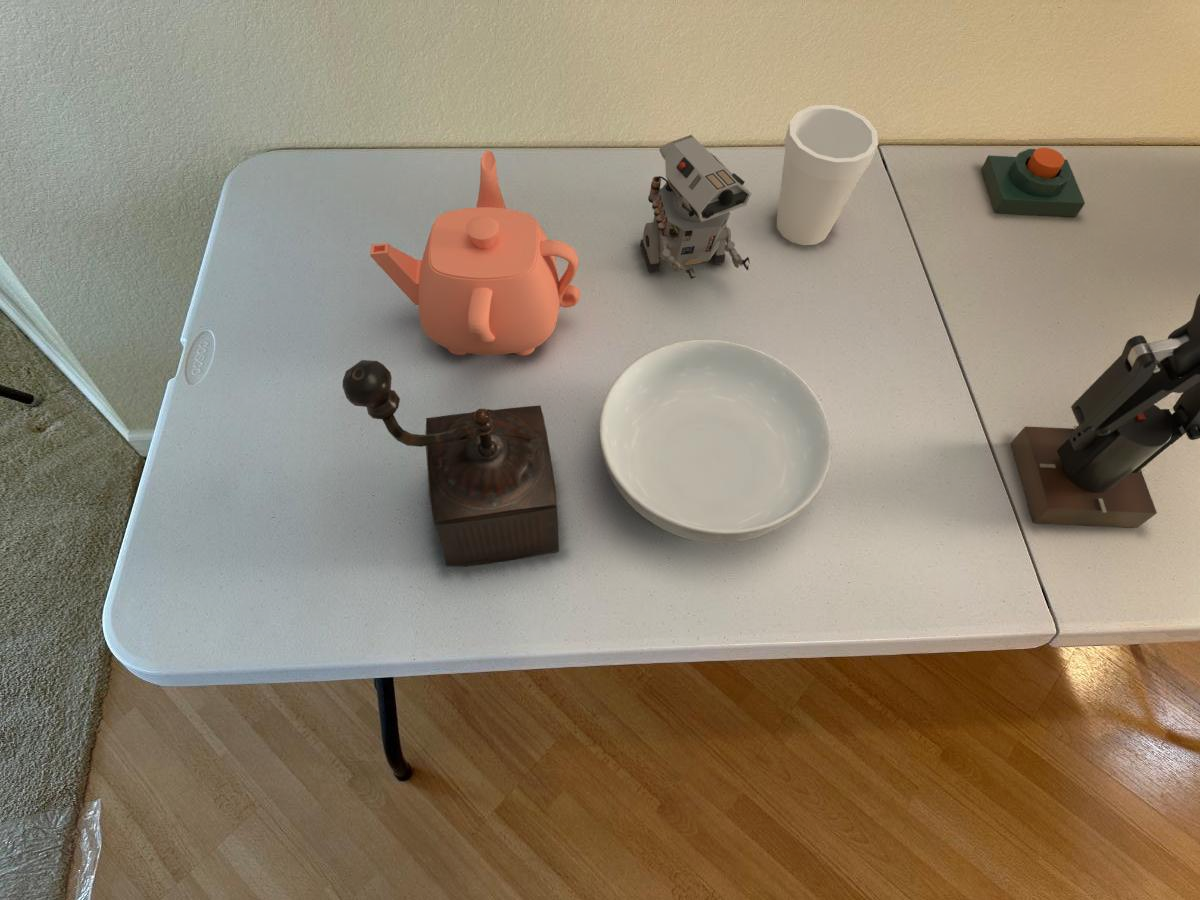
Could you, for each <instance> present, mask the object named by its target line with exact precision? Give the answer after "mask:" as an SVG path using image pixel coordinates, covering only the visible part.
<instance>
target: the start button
mask: <svg viewBox="0 0 1200 900" xmlns="http://www.w3.org/2000/svg"><path fill="white" fill-rule="evenodd" d="M1036 149H1037V150H1035V151H1034V153H1033V154H1032V156H1031V158H1030V160H1029V161H1028V163H1027V169H1028V170H1029V171H1030V172H1031V173H1033V174H1034V175H1036V176H1039V177H1042V178H1053V177H1055V176H1056V175H1057V173H1058V172H1059V170H1060V168H1061V167H1062V165H1063V164H1064V159H1065V158H1064V156H1063V155H1062V153H1060V152H1059V151H1057V150H1056V149H1054V148H1051V147H1039V148H1036Z"/></svg>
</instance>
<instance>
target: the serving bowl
mask: <svg viewBox="0 0 1200 900" xmlns="http://www.w3.org/2000/svg"><path fill="white" fill-rule="evenodd" d="M831 431H832V430H831V426H830V423H829V419H828V417H827V414H826V411H825V410H824V407H823V406H822V404H821V401H820V400H819V398H818V396H817V395H816V393H815V392H814V391H813V390H812V388H811V387H810V386H809V385H808V384H807V382H806V381H805V380H804V379H803V378H802V377H801V376H800V375H799V374H797V372H795V371H794V370H793V369H792V368H791V367H790V366H788V365H786V364H785V363H784V362H782V361H780V360H779V359H777V358H776V357H774V356H772V355H770V354H769V353H766V352H763V351H761V350H759V349H756V348H754V347H751V346H749V345H745V344H741V343H737V342H732V341H727V340H718V339H689V340H688V339H687V340H683V341H677V342H673V343H668V344H666V345H662V346H660V347H657V348H655V349H652V350H651V351H649V352H647V353H645V354H643V355H641V356H640V357H638V358H637V359H635V360H634V361H633V362H632V363H630V364H629V365H628V366H626V367H625V369H623V371H621V373H620V374H619V375H618V376H617V377H616V379H615V380H614V382H613V383H612V384H611V386H610V387H609V390H608V391H607V393H606V395H605V398H604V400H603V404H602V407H601V410H600V415H599V425H598V432H599V433H598V434H599V444H600V449H601V454H602V458H603V461H604V465H605V467H606V470H607V473H608V474H609V476H610V479H611V481H612V483H613V484H614V486H615V487H616V489H617V491H619V494H620V495H621V496H622V497H623V498H624V500H625V501H626V502H627V503H628V504H629V505H630V507H631V508H633V509H634V510H635V511H636V513H638V514H640V515H641V516H642V518H645V519H646V520H647V521H649V522H650V523H651V524H654V525H655V526H656V527H659V528H660V529H662V530H664V531H667V532H669V533H671V534H673V535H676V536H679V537H682V538H685V539H689V540H694V541H698V542H705V543H734V542H741V541H747V540H751V539H754V538H758V537H761V536H763V535H766V534H769V533H771V532H773V531H775V530H777V529H779V528H781V527H782V526H784V525H786V524H787V523H789V522H790V521H791V520H792V519H794V518H795V517H796V516H798V515H799V514H800V513H801V512H802V511H803V510H804V509H805V508H806V507H807V506H808V504H810V503H811V502H812V500H813V499H814V498H816V495H817V494H818V493H819V492H820V490H821V488H822V486H823V484H824V483H825V480H826V478H827V476H828V473H829V471H830V466H831V461H832V455H833V439H832V432H831Z"/></svg>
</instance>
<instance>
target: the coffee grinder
mask: <svg viewBox="0 0 1200 900" xmlns="http://www.w3.org/2000/svg"><path fill="white" fill-rule="evenodd" d="M343 375H344V376H343V378H342V386H341V387H342V390H343V393H344V395H345V398H346V399H347V401H348V402H349V403H350V404H352V405H353V406H356V407H364V408H366V410H367V414H368V415H369V416H370V417H371V418H372V419H375V420H382V421H383V424H384V426H385V428H386V430H387V431H388V433H389V434H390V435H391V436H392V438H394V439H395V440H396V441H397V442H399V443H400V444H403V445H405V446H407V447H417V448H418V447H420V448H422V447H425V455H426V457H425V458H426V467H427V470H426V471H427V491H428V498H429V504H430V509H431V514H432V515H431V516H432V520H433V525H434V529H435V532H436V535H437V538H438V540H439V543H440V546H441V547H440V548H441V550H442V553H443V557H444V562H445V566H446V567H466V568H467V567H473V566H481V565H488V564H495V563H502V562H503V563H504V562H510V561H514V560H521V559H527V558H531V557H537V556H543V555H548V554H551V553H553V554H554V553H558V552H559V551H560V542H559V541H560V540H559V519H558V503H557V491H556V483H555V476H554V468H553V464H552V457H551V449H550V444H549V436H548V432H547V426H546V422H545V416H544V414H543V411H542V407H541V405H530V406H529V405H528V406H518V407H517V406H516V407H508V408H507V407H506V408H498V409H488V408H487V409H486V408H478V409H476V410H475V411H471V412H464V413H457V414H447V415H440V416H432V417H426V418H425V419H426V420H425V433H424V434H417V433H411V432H409V431H407V430H405V429H403V428H402V426H401V425H400V424H399V422H398V421H397V419H396V416H395V413H396V411H397V410H398V409H399V406H400V402H401V398H400V396H399V395H398V394H397V392H396V391H395V390H393V389H392V381H393V380H392V379H393V377H392V374H391V371H389V369H388V368H387V367H386V366H385V364H384V363H382V362H380V361H378V360H366V359H361V360H360V361H358V362H357V363H355V364H354V365H352V366H351V367H350V368H348V369H347V370H346V371H345V373H344V374H343Z"/></svg>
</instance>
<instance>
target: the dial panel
mask: <svg viewBox="0 0 1200 900" xmlns="http://www.w3.org/2000/svg"><path fill="white" fill-rule="evenodd" d="M1078 426H1079V425H1073V428H1069V427H1068V428H1067V427H1047V426H1028V425H1027V426H1024V427H1023V428H1022V429H1021V430H1020V432H1019V433H1018V434H1017V435H1016V436H1015V437H1014V438H1013V439H1012V440H1011V442H1010V445H1011V448H1012V452H1013V456H1014V459H1015V463H1016V466H1017V470H1018V474H1019V477H1020V480H1021V484H1022V488H1023V492H1024V495H1025V498H1026V502H1027V506H1028V510H1029V514H1030V517H1031V520H1032V523H1033V524H1053V525H1073V526H1092V527H1093V526H1094V527H1115V528H1116V527H1117V528H1118V527H1119V528H1135V529H1137V528H1139V527H1140V526H1142V525H1143V524H1144V523H1146V522H1147V521H1149V520H1150V519H1151V518H1153V517H1154V516H1156V515H1157V514H1158V511H1157V509H1156V506H1155V504H1154V501H1153V499H1152V496H1151V493H1150V489H1149V487H1148V485H1147V482H1146V479H1145V477H1144V474H1143V471H1142V469H1141V470H1140V471H1138V472H1137V473H1130V474H1129V475H1128V476H1127V477H1125V478H1124V479H1123V480H1122V481H1121V482H1119V483H1118V484H1117V485H1116V486H1115V487H1113V488H1112V489H1110V490H1108V491H1105V492H1093V491H1089V490H1086V489H1084V488H1082V487H1080V486H1078V485H1077V484H1075V483H1074V482H1073V481H1072V480H1071V479H1070V478H1069V477H1068V476H1067V475H1066V473H1065V471H1064V469H1063V467H1062V462H1061V460H1060V457H1059V455H1058V452H1057V450H1058V449H1059V448H1060V447H1061V446H1062V445H1063V444H1064V443H1065V442H1066V441H1067V440H1068V439H1069V435H1070V434H1071V433H1072V432H1073V431H1074V430H1075V429H1076V428H1077V427H1078Z"/></svg>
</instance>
